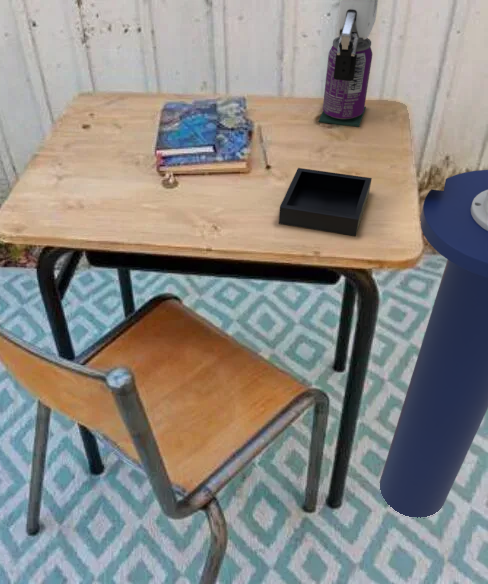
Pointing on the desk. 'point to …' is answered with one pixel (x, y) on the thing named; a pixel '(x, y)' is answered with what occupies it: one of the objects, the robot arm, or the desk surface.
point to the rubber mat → (348, 122)
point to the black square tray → (325, 201)
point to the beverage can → (347, 83)
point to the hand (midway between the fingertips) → (349, 67)
